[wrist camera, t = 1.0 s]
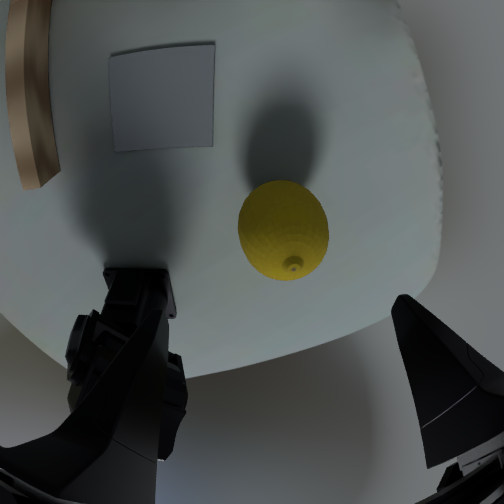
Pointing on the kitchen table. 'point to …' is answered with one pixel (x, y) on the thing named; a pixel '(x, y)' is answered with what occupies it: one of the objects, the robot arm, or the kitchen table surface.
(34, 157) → the l-shaped wooden corner
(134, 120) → the mat
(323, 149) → the kitchen table surface
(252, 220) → the lemon
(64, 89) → the kitchen table surface
